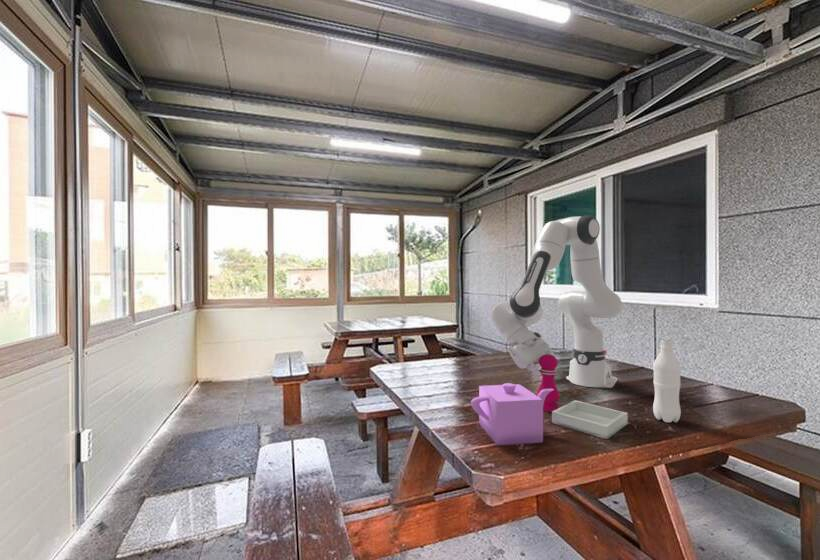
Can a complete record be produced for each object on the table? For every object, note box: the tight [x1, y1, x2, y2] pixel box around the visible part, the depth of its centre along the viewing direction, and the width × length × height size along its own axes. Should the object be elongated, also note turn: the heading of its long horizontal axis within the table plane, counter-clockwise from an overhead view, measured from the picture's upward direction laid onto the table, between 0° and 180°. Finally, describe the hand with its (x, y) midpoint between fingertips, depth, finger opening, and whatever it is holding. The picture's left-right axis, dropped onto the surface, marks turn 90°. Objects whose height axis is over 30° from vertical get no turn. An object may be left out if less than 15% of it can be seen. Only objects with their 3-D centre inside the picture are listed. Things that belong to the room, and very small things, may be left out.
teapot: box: [470, 382, 554, 446], centre depth 109 cm, size 15×25×14 cm, turn 98°
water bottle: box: [652, 339, 682, 424], centre depth 118 cm, size 7×7×25 cm
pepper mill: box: [536, 350, 560, 413], centre depth 128 cm, size 7×7×20 cm
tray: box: [551, 399, 628, 440], centre depth 115 cm, size 16×16×4 cm
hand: (547, 373), depth 128 cm, fingers open, 8 cm apart
